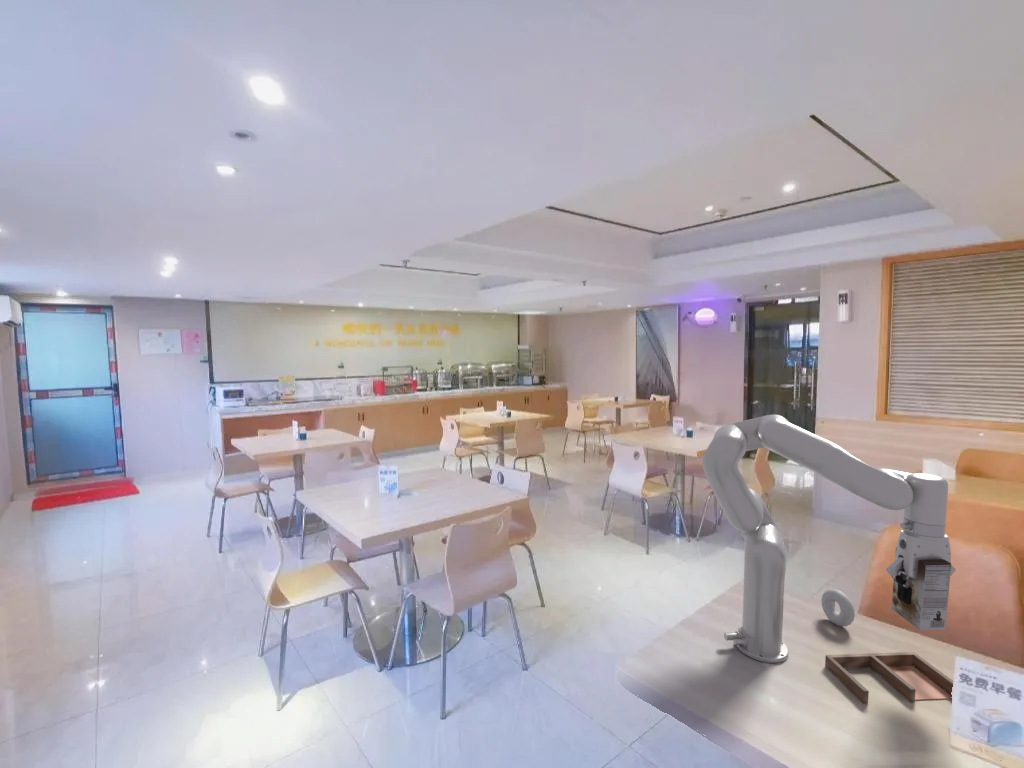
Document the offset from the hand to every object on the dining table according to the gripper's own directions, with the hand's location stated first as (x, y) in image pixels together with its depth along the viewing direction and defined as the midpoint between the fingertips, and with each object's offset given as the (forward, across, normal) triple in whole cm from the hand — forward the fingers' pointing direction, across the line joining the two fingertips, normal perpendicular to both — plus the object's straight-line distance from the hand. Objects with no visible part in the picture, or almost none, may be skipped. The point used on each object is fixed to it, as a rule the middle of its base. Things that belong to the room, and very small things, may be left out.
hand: (918, 600), depth 117 cm
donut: (+21, -1, +25) cm, 33 cm away
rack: (+21, -6, 0) cm, 21 cm away
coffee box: (+5, 0, 0) cm, 5 cm away
